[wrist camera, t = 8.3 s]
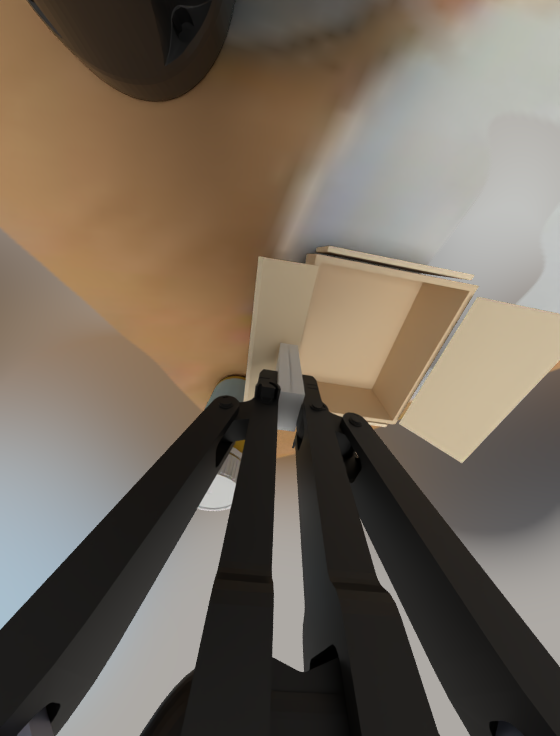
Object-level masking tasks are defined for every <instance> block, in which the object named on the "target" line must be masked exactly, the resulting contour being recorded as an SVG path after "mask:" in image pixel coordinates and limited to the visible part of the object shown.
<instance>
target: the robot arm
mask: <svg viewBox="0 0 560 736" xmlns="http://www.w3.org/2000/svg"><path fill="white" fill-rule="evenodd" d="M27 2H28V3H29V4H30V6H31V7H32V8H33V10H34V11H35V12H36V13H37V15H38V16H39V17H40V18H41V19H42V21H43V22H44V23H45V24H46V26H47V27H48V28H49V29H50V30H51V31H52V32H53V34H54V35H55V36H56V37H57V38H58V39H59V40H60V41H61V42H62V43H63V44H64V45H65V46H66V47H67V48H68V49H69V50H70V51H71V52H72V53H73V54H74V55H75V56H76V57H77V58H78V59H79V60H80V61H81V62H82V63H83V64H85V65H86V66H87V67H88V68H89V69H90V70H91V71H92V72H93V73H94V74H95V75H97V76H98V77H99V78H100V79H102V80H103V81H104V82H106V83H107V84H109V85H110V86H112V87H113V88H115V89H117V90H118V91H120V92H122V93H124V94H127V95H129V96H132V97H135V98H138V99H142V100H149V101H163V100H169V99H172V98H175V97H178V96H180V95H182V94H184V93H186V92H187V91H189V90H190V89H192V88H193V87H194V86H195V85H196V84H197V83H199V81H200V80H201V79H202V78H203V77H204V76H205V75H206V73H207V72H208V71H209V69H210V68H211V66H212V65H213V63H214V61H215V59H216V58H217V56H218V54H219V52H220V49H221V47H222V45H223V42H224V40H225V37H226V34H227V31H228V28H229V25H230V21H231V17H232V13H233V8H234V3H235V0H27ZM295 428H297V432H296V436H295V439H294V442H293V446H292V448H294V447H295V449H296V465H297V480H298V481H297V483H298V497H299V498H298V499H299V514H300V515H299V516H300V532H301V549H302V566H303V581H304V598H305V613H304V622H303V658H304V672H299V671H297V670H295V669H293V668H292V667H290V666H288V665H286V664H284V663H282V662H280V661H278V660H277V659H275V658H273V657H272V641H273V607H274V604H273V603H274V599H273V598H274V590H273V580H272V547H273V522H274V497H275V496H274V495H275V473H276V472H275V471H276V448H277V429H279V430H287V431H294V432H295ZM240 440H245V443H244V448H243V452H242V457H241V462H240V467H239V472H238V476H237V481H236V486H235V491H234V495H233V500H232V505H231V510H230V514H229V519H228V524H227V529H226V533H225V538H224V543H223V548H222V552H221V557H220V562H219V566H218V571H217V574H216V577H215V580H214V584H213V588H212V593H211V597H210V601H209V606H208V611H207V615H206V620H205V625H204V630H203V634H202V639H201V643H200V648H199V653H198V657H197V662H196V667H195V669H194V670H193V671H191V672H190V673H189V674H188V675H186V676H185V677H184V678H183V679H182V680H181V681H180V682H179V683H178V684H177V685H176V686H175V687H174V689H173V690H172V691H171V692H170V693H169V695H168V696H167V697H166V698H165V700H164V701H163V702H162V703H161V705H160V706H159V708H158V709H157V711H156V712H155V713H154V715H153V716H152V718H151V719H150V721H149V722H148V724H147V725H146V727H145V728H144V730H143V731H142V733H141V735H140V736H440V735H439V733H438V730H437V727H436V724H435V721H434V718H433V715H432V712H431V709H430V706H429V703H428V699H427V696H426V693H425V690H424V687H423V684H422V681H421V678H420V675H419V672H418V668H417V665H416V662H415V659H414V656H413V653H412V650H411V647H410V644H409V641H408V637H407V634H406V631H405V628H404V626H403V622H402V619H401V616H400V614H399V611H398V608H397V606H396V603H395V602H394V600H393V598H392V596H391V595H390V593H388V591H386V590H385V589H384V588H383V587H382V586H381V585H380V583H379V581H378V579H377V576H376V573H375V569H374V566H373V563H372V559H371V555H370V552H369V548H368V545H367V542H366V538H365V535H364V531H363V528H362V524H361V521H362V523H363V525H364V527H365V529H366V531H367V533H368V535H369V537H370V539H371V541H372V543H373V545H374V548H375V550H376V552H377V554H378V556H379V558H380V560H381V562H382V564H383V566H384V568H385V570H386V572H387V574H388V576H389V578H390V581H391V583H392V584H393V587H394V589H395V591H396V593H397V595H398V597H399V599H400V601H401V603H402V605H403V607H404V609H405V611H406V614H407V616H408V617H409V619H410V622H411V624H412V626H413V628H414V630H415V632H416V634H417V636H418V638H419V640H420V642H421V644H422V646H423V648H424V651H425V652H426V655H427V657H428V659H429V661H430V663H431V665H432V667H433V669H434V671H435V673H436V675H437V677H438V679H439V681H440V682H441V684H442V686H443V688H444V690H445V692H446V694H447V696H448V698H449V700H450V701H451V703H452V705H453V707H454V708H455V710H456V712H457V713H458V715H459V717H460V719H461V720H462V722H463V724H464V726H465V727H466V729H467V731H468V732H469V734H470V736H560V667H559V666H558V664H557V663H556V662H555V660H554V659H553V658H552V657H551V656H550V654H549V653H548V651H547V650H546V649H545V648H544V646H543V645H542V644H541V643H540V642H539V640H538V639H537V637H536V636H535V635H534V634H533V633H532V631H531V630H530V629H529V627H528V626H527V625H526V624H525V622H524V621H523V620H522V618H521V617H520V616H519V615H518V613H517V612H516V611H515V609H514V608H513V607H512V606H511V604H510V603H509V602H508V601H507V599H506V598H505V597H504V595H503V594H502V593H501V592H500V590H499V589H498V588H497V587H496V585H495V584H494V583H493V581H492V580H491V579H490V578H489V576H488V575H487V574H486V573H485V571H484V570H483V569H482V567H481V566H480V565H479V564H478V562H477V561H476V560H475V558H474V557H473V556H472V555H471V553H470V552H469V551H468V550H467V548H466V547H465V546H464V544H463V543H462V542H461V541H460V539H459V538H458V537H457V536H456V534H455V533H454V532H453V530H452V529H451V528H450V527H449V525H448V524H447V523H446V522H445V520H444V519H443V518H442V516H441V515H440V514H439V513H438V511H437V510H436V509H435V508H434V506H433V505H432V504H431V502H430V501H429V500H428V499H427V497H426V496H425V495H424V494H423V492H422V491H421V490H420V488H419V487H418V486H417V485H416V483H415V482H414V481H413V480H412V478H411V477H410V476H409V475H408V473H407V472H406V471H405V469H404V468H403V467H402V466H401V465H400V463H399V462H398V460H397V459H396V458H395V457H394V455H393V454H392V453H391V452H390V450H389V449H388V448H387V446H386V445H385V444H384V443H383V441H382V440H381V439H380V437H379V436H378V435H377V434H376V432H375V431H374V430H373V429H372V427H371V426H370V425H369V423H368V422H367V421H366V420H365V419H364V418H363V417H362V416H360V415H358V414H356V413H351V412H348V413H345V414H344V415H343V417H341V416H338V415H335V414H333V413H331V412H329V409H328V407H327V405H325V404H324V403H323V402H322V400H321V396H320V392H319V388H318V384H317V380H316V379H315V378H314V377H313V376H309V375H303V374H302V371H301V365H300V358H299V351H298V345H292V344H286V343H280V347H279V353H278V359H277V364H276V370H275V371H273V370H267V369H263V370H262V371H261V372H260V374H259V379H258V383H257V384H256V386H255V394H254V397H253V399H251V400H249V401H245V402H239V401H238V400H237V399H236V398H235V397H233V396H229V395H224V396H219V397H217V398H216V399H214V400H213V401H212V402H211V403H210V404H209V406H208V407H207V408H206V409H205V410H204V411H203V412H202V413H201V414H200V415H199V416H198V417H197V418H196V420H195V421H194V422H193V423H192V424H191V425H190V426H189V427H188V428H187V429H186V430H185V432H183V434H182V435H181V436H180V437H179V438H178V439H177V440H176V441H175V442H174V443H173V444H172V445H171V446H170V448H169V449H168V450H167V451H166V452H165V453H164V454H163V455H162V456H161V457H160V458H159V459H158V460H157V462H156V463H155V464H154V465H153V466H152V467H151V468H150V469H149V470H148V471H147V472H146V473H145V475H144V476H143V477H142V478H141V479H140V480H139V481H138V482H137V483H136V484H135V485H134V486H133V487H132V489H131V490H130V491H129V492H128V493H127V494H126V495H125V496H124V497H123V498H122V499H121V500H120V501H119V503H118V504H117V505H116V506H115V507H114V508H113V509H112V510H111V511H110V512H109V513H108V514H107V516H106V517H105V518H104V519H103V520H102V521H101V522H100V523H99V524H98V525H97V526H96V527H95V528H94V530H93V531H92V532H91V533H90V534H89V535H88V536H87V537H86V538H85V539H84V540H83V541H82V542H81V544H80V545H79V546H78V547H77V548H76V549H75V550H74V551H73V552H72V553H71V554H70V555H69V556H68V558H67V559H66V560H65V561H64V562H63V563H62V564H61V565H60V566H59V567H58V568H57V569H56V570H55V572H54V573H53V574H52V575H51V576H50V577H49V578H48V579H47V580H46V581H45V582H44V583H43V584H42V586H41V587H40V588H39V589H38V590H37V591H36V592H35V593H34V594H33V595H32V596H31V597H30V598H29V600H28V601H27V602H26V603H25V604H24V605H23V606H22V607H21V608H20V609H19V610H18V611H17V612H16V614H15V615H14V616H13V617H12V618H11V619H10V620H9V621H8V622H7V623H6V624H5V625H4V627H3V628H2V629H1V630H0V736H56V735H57V733H58V732H59V731H60V730H61V728H62V727H63V726H64V724H65V723H66V722H67V721H68V719H69V718H70V716H71V715H72V713H73V712H74V711H75V709H76V708H77V706H78V705H79V704H80V702H81V701H82V699H83V698H84V696H85V695H86V693H87V692H88V691H89V689H90V688H91V686H92V685H93V684H94V682H95V680H96V679H97V677H98V676H99V674H100V672H101V671H102V669H103V668H104V666H105V665H106V663H107V661H108V660H109V658H110V656H111V655H112V653H113V652H114V650H115V648H116V647H117V645H118V644H119V642H120V640H121V638H122V637H123V635H124V633H125V631H126V630H127V628H128V626H129V625H130V623H131V621H132V619H133V618H134V616H135V614H136V613H137V611H138V609H139V607H140V606H141V604H142V602H143V601H144V599H145V597H146V595H147V594H148V592H149V590H150V589H151V587H152V585H153V583H154V582H155V580H156V578H157V577H158V575H159V573H160V571H161V570H162V568H163V566H164V565H165V563H166V561H167V559H168V558H169V556H170V554H171V553H172V551H173V549H174V547H175V546H176V544H177V542H178V541H179V539H180V537H181V535H182V534H183V532H184V530H185V529H186V527H187V525H188V523H189V522H190V520H191V518H192V517H193V515H194V513H195V511H196V510H197V508H198V506H199V505H200V503H201V501H202V499H203V498H204V496H205V494H206V493H207V491H208V489H209V487H210V486H211V484H212V482H213V481H214V479H215V477H216V475H217V474H218V472H219V470H220V469H221V467H222V465H223V463H224V462H225V460H226V458H227V457H228V455H229V453H230V451H231V450H232V448H233V446H234V445H235V442H236V441H240ZM355 452H356V453H357V454H356V453H355ZM357 455H358V456H359V457H358V456H357ZM360 519H361V521H360Z"/></svg>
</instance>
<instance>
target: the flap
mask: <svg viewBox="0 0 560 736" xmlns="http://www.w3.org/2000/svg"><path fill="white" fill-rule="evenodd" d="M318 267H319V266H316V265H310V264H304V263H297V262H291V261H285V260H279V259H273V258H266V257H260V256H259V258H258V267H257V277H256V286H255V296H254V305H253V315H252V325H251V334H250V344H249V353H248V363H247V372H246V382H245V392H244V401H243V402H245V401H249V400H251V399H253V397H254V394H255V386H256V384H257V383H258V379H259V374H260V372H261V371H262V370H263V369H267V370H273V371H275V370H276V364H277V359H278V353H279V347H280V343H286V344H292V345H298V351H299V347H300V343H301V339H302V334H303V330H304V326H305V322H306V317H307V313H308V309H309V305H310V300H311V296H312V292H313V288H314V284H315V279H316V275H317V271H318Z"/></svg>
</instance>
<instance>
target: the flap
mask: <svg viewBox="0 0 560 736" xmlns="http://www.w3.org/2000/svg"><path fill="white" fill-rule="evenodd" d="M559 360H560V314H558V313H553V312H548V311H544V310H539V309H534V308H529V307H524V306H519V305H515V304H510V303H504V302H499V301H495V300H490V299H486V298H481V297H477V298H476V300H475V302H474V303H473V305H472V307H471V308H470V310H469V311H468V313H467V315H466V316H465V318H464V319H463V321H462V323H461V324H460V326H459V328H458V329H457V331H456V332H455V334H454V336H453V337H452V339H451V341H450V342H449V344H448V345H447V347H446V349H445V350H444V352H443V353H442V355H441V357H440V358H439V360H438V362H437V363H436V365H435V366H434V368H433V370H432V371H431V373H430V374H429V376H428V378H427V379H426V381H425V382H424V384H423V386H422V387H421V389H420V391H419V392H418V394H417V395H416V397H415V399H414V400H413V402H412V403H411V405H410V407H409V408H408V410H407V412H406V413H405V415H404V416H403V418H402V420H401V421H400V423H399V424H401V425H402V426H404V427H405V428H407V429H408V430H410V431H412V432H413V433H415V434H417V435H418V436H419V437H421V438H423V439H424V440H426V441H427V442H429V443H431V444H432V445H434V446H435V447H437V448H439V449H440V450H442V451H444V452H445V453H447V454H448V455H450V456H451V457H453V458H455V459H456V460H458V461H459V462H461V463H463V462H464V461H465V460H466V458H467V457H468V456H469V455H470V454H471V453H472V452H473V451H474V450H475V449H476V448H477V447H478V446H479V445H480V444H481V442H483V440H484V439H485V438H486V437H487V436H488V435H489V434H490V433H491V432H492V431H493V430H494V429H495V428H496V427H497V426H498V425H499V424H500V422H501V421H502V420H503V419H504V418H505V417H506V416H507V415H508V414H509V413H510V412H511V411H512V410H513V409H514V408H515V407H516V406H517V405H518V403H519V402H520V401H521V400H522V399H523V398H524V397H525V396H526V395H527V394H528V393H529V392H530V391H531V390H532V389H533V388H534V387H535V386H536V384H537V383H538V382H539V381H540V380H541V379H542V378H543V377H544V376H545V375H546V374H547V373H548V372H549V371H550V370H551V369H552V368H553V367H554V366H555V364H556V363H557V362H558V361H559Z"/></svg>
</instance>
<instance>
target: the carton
mask: <svg viewBox="0 0 560 736" xmlns="http://www.w3.org/2000/svg"><path fill="white" fill-rule="evenodd" d="M316 252H318V253H323V254H328V255H333V256H338V257H343V258H348V259H353V260H358V261H363V262H368V263H373V264H378V265H383V266H388V267H393V268H398V269H403V270H408V271H413V272H418V273H423V274H430V275H437V276H444V277H452V278H458V279H466V280H472V278H473V277H474V275H471V274H466V273H461V272H457V271H452V270H447V269H441V268H437V267H432V266H427V265H422V264H417V263H412V262H407V261H402V260H397V259H392V258H387V257H382V256H378V255H373V254H368V253H363V252H358V251H353V250H348V249H343V248H338V247H333V246H324V247H318V248H317V249H316ZM305 264H310V265H316V266H319V267H318V271H317V275H316V279H315V284H314V288H313V292H312V296H311V300H310V305H309V309H308V313H307V317H306V322H305V326H304V330H303V334H302V339H301V343H300V347H299V358H300V365H301V371H302V374H303V375H309V376H313V377H314V378H315V379H316V380H317V384H318V388H319V392H320V396H321V400H322V402H323V403H324V404H325V405H327V407H328V409H329V412H331V413H333V414H335V415H338V416H341V417H343V415H344V414H345V413H348V412H351V413H356V414H358V415H360V416H362V417H363V418H364V419H365V420H366V421H367V422H368V423H369V425H374V426H382V427H386V426H387V424H386V423H389V424H395V423H396V422H397V420H398V418H399V417H400V415H401V413H402V412H403V410H404V408H405V407H406V405H407V404H408V402H409V400H410V399H411V397H412V395H413V394H414V392H415V390H416V389H417V387H418V385H419V384H420V382H421V380H422V379H423V377H424V376H425V374H426V372H427V371H428V369H429V367H430V366H431V364H432V362H433V361H434V359H435V357H436V356H437V354H438V352H439V351H440V349H441V347H442V346H443V344H444V343H445V341H446V339H447V338H448V336H449V334H450V333H451V331H452V329H453V327H454V326H455V324H456V323H457V321H458V320H459V318H460V316H461V314H462V313H463V311H464V309H465V308H466V306H467V305H468V303H469V301H470V300H471V298H472V296H473V295H474V293H475V292H476V290H477V288H478V286H476V285H470V284H466V283H461V282H456V281H451V280H446V279H441V278H436V277H430V276H426V275H421V274H416V273H411V272H406V271H401V270H396V269H391V268H386V267H381V266H376V265H370V264H365V263H360V262H355V261H350V260H345V259H340V258H335V257H330V256H325V255H320V254H307V256H306V261H305Z"/></svg>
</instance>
